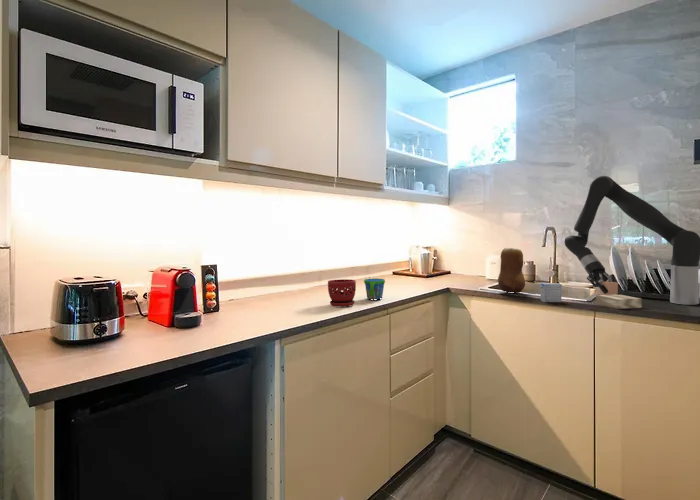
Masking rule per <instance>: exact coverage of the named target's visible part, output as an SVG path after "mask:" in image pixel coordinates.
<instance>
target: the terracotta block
mask: <svg viewBox="0 0 700 500" xmlns="http://www.w3.org/2000/svg"><path fill="white" fill-rule="evenodd" d="M617 282H618V281H617ZM617 282H610V281H608V280H607V281H603V282H602V283H603V285H604V286H605V287H606V288H607V290H608V293H607V294H604V293H603V292H602V290H601V289H600V288H599V295H616V294H618V293H619V292H618V289H619V282H618V283H617Z"/></svg>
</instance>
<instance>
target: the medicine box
mask: <svg viewBox="0 0 700 500" xmlns="http://www.w3.org/2000/svg"><path fill="white" fill-rule="evenodd" d="M562 287H563V286H562V284H561V283H559V282H558V283H557V282H548V283H547V282H545V283H544V282H542V283H540V301H541V302H543V303H562V294H563V293H562V292H563V291H562V289H563V288H562Z"/></svg>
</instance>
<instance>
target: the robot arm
mask: <svg viewBox="0 0 700 500" xmlns="http://www.w3.org/2000/svg"><path fill="white" fill-rule="evenodd" d="M587 192H588V193H587V196H586V199H585V203H584V205H583V207H582V209H581V211H580V214H579V216H578V217H577V220H576V221H575V225H574V227H573V230H574V231H575V232H576V233H577V235H573V234H572V235H571V234H570V235H567V236H565V238H564V246H565V247H566V249H567V250H568V251H569V252H571V253H572V254H573V255H574V256H576V258H577V259H578V261H579V262H580V263H581V266H582V267H583V269H584V270H585V272H586V273H587V275H588V276H587V277H586V280H587V281H588V282H589V283H591V285H592V286H593V287H595V288H596V287H597V288H599V290H600V289H601V290H602V292H603V293H604V294H607V293H608V290H607V288H606V287H605V286H604V285H603V283H602V282H603V281H610V282H617V283H618V284H619V282H618V280H617V278H616V276H615V274H614V273H611V274H608V273H607V272H606V268H605V266H604V265H603V264H602V262H601V261H600V260H599V259H598V257H597V256H596V255H595V254H594V253H593V251H592V250H591V249H590V247H587V244H588V242H589V241H588V240H589V235H590V234H589V233H590V230H591V228H592V225H593V223H594V221H595V218H596V215H597V212H598V209H599V207H600V205H601V202H602V201H603V200H604V198H607V200H608V199H609V200H610V201H612V202H613V203H614V204H615V205H616V206H617V207H619V209H620V210H621V211H623V213H624V214H626V215H627V216H628V218H631V219H632V220H634V221H635V222H637V223H638V224H640V225H642V226H643V227H645V228H646V229H648V230H651V231H653V232H654V233H656V234H657V235H659V236H661V238H663V239H664V240H665V241H666V242H667V243H668V244H670V245H671V246H672V256H671V260H670V262H671V263H670V288H669V289H670V290H669V291H670V293H669V294H670V295H669V302H670V303H673V304H679V305H686V306H690V305H691V306H696V305H699V304H700V282H699V266H700V265H699V264H700V235H699V234H698V233H697V232H694V231H692V230H687V229H684V228H683V227H681V226H679V225H677V224H676V223H674V222H672V221H671V220H670V219H668V218H667V217H666V216H665V215H664V214H663V213H662V212H661V210H659V209H657V208H656V207H655V206H653V205H652V204H651V203H649V202H647V201H645V200H644V199H642V198H641V197H639V196H637V195H635V194H633V193H632V192H630V191H628V190H626V189H625V188H623V187H622V186H621V185H620V184H619V183H617V182H616V181H614V179H612V178H611V177H609V176H607V175H600V176H598V177H595V178H594V179H592V181H590V184H589V189H588V191H587ZM619 292H620V290H619V288H618V293H619Z"/></svg>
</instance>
